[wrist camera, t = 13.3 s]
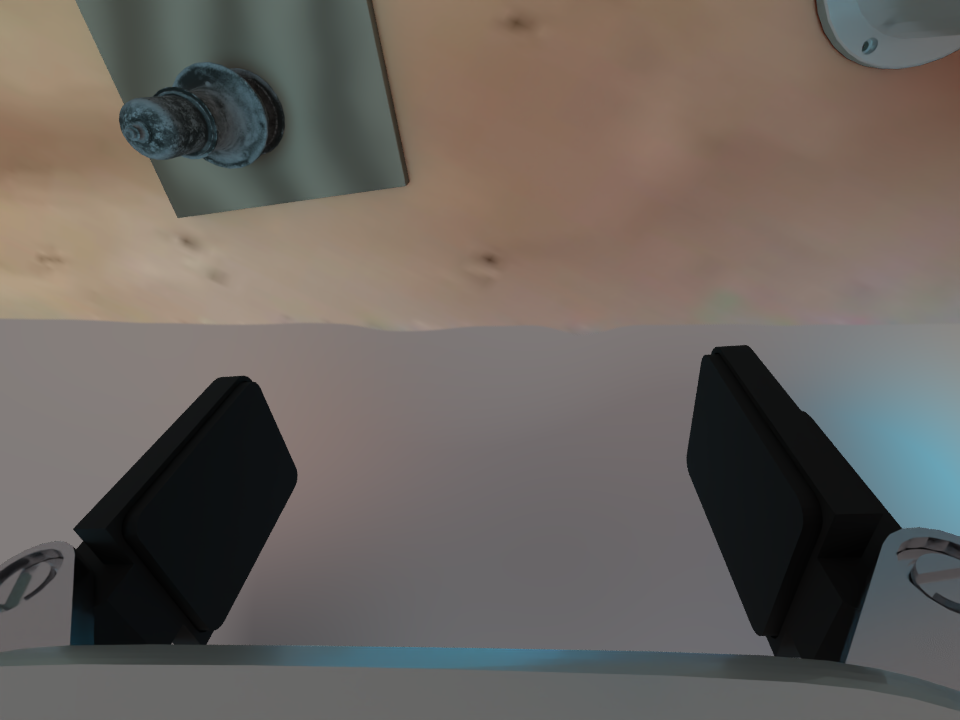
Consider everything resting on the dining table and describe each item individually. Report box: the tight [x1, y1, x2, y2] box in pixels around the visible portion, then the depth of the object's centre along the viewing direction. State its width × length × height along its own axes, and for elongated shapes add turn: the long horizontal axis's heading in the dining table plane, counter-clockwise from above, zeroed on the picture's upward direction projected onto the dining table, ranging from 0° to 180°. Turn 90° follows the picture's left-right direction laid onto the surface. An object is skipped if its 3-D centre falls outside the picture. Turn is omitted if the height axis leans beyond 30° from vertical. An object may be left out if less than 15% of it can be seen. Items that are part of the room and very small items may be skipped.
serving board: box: [76, 0, 409, 218], centre depth 32 cm, size 18×14×2 cm
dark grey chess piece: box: [119, 62, 285, 169], centre depth 27 cm, size 6×6×12 cm
